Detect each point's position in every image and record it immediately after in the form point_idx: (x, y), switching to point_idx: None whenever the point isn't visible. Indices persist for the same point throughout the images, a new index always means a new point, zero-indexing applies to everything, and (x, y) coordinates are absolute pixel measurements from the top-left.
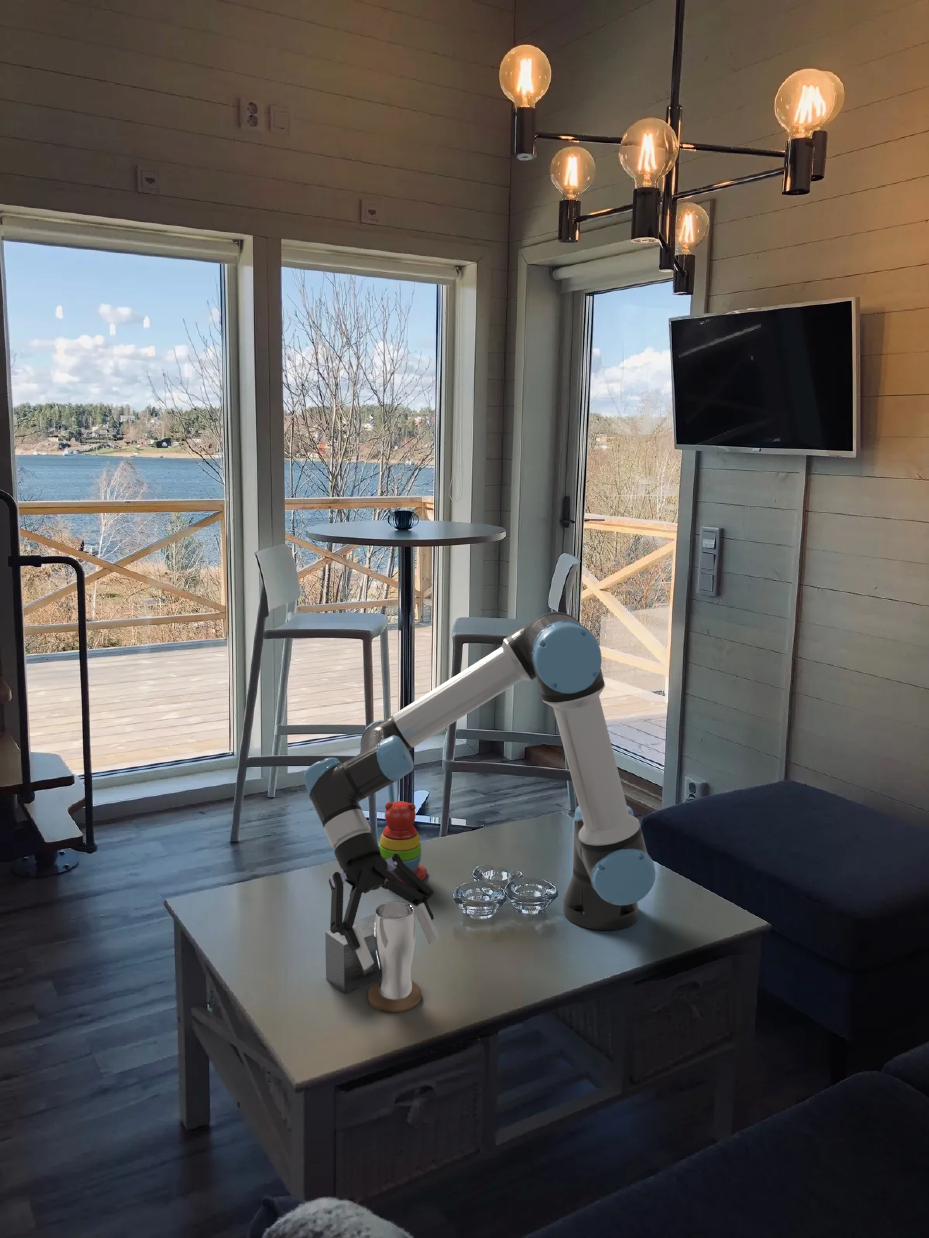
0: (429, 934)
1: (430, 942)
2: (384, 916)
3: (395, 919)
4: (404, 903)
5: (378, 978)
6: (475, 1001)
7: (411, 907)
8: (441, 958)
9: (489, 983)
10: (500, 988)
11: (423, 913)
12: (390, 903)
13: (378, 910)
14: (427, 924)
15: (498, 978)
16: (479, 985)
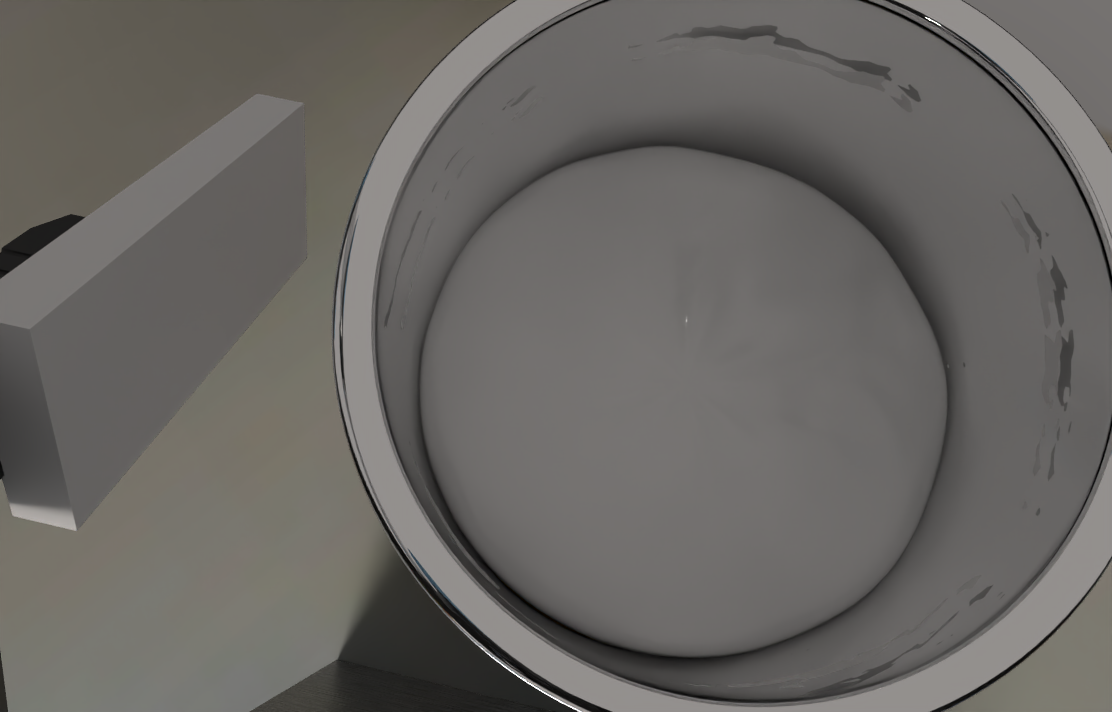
0: (273, 217)
1: (305, 227)
2: (629, 675)
3: (1021, 47)
4: (373, 364)
5: (531, 706)
6: (343, 37)
7: (424, 138)
8: (28, 532)
9: (120, 89)
10: (131, 8)
11: (134, 270)
12: (534, 639)
13: (863, 687)
14: (218, 220)
15: (37, 81)
16: (176, 122)
